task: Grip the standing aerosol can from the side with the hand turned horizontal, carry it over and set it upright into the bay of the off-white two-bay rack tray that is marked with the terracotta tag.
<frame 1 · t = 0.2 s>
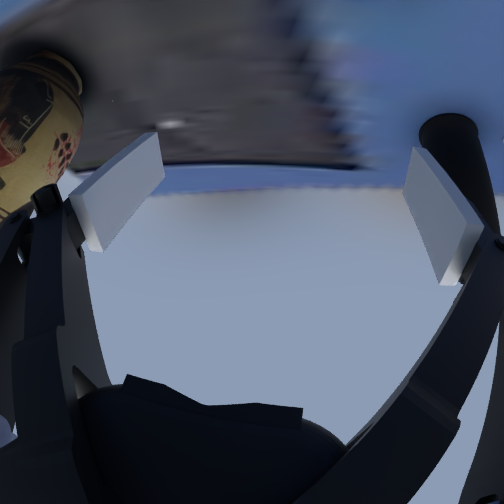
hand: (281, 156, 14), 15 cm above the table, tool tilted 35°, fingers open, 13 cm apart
aerosol can: (448, 133, 28), on the table
ceramic jug: (55, 80, 25), on the table
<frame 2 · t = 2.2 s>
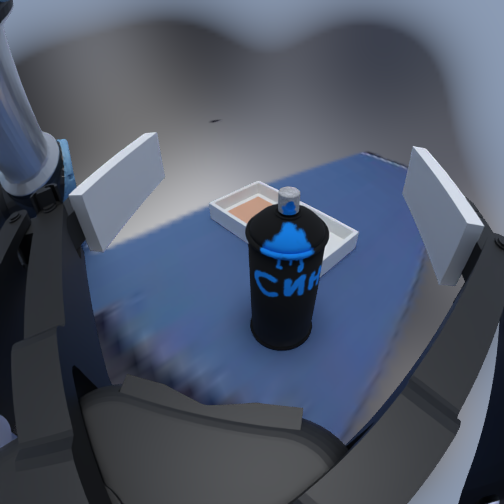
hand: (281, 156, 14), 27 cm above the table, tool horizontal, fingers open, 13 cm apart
rack tray: (279, 231, 55), on the table
aerosol can: (281, 325, 39), on the table
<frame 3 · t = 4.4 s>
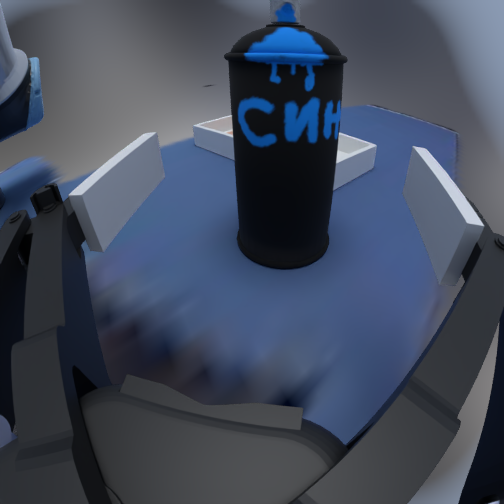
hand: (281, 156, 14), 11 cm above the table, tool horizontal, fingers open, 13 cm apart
rack tray: (278, 152, 42), on the table
aerosol can: (283, 239, 27), on the table
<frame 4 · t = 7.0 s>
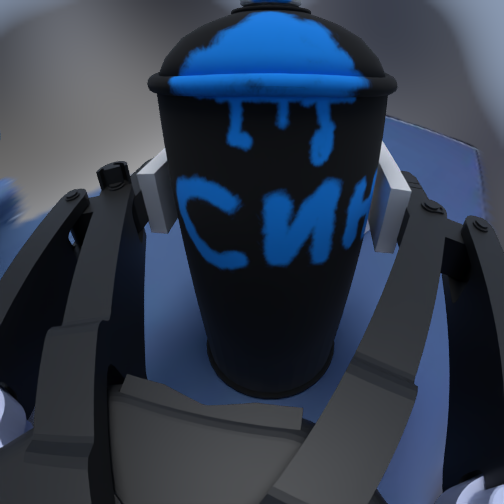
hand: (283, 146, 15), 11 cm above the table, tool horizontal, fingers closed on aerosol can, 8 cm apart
aerosol can: (270, 343, 19), on the table, touching gripper
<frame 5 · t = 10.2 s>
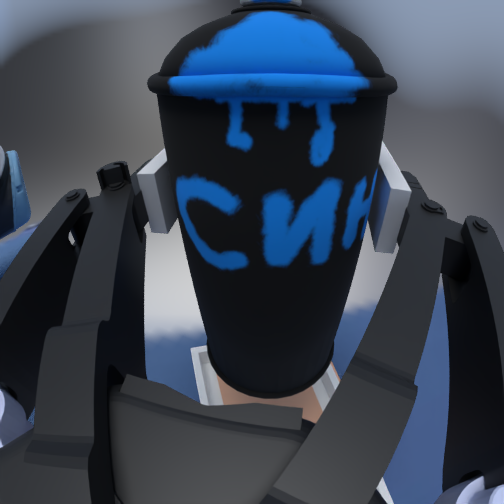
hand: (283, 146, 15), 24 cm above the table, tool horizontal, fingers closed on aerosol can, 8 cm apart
rack tray: (286, 454, 23), on the table
aerosol can: (270, 343, 19), point 13 cm above the table, touching gripper
when the fingers open (13 cm above the table, at t = 13.6 s): aerosol can drops 1 cm, resting on rack tray.
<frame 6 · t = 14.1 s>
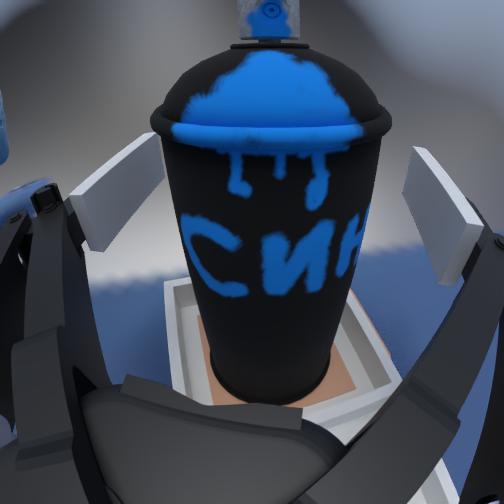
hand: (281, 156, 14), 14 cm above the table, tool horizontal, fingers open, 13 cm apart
rack tray: (296, 436, 16), on the table
aerosol can: (270, 353, 20), point 1 cm above the table, touching rack tray
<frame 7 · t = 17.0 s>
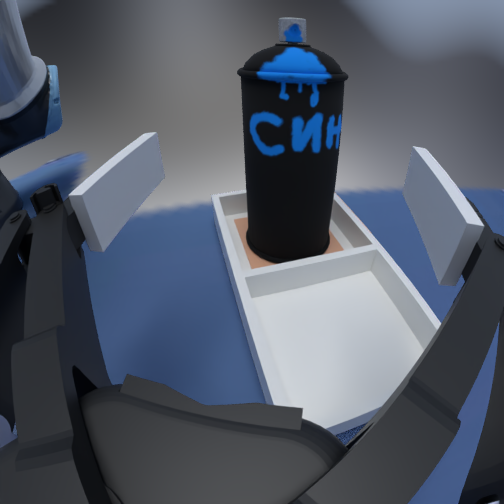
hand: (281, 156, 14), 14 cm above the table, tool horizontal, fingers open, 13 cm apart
rack tray: (310, 289, 25), on the table
aerosol can: (288, 238, 29), point 1 cm above the table, touching rack tray
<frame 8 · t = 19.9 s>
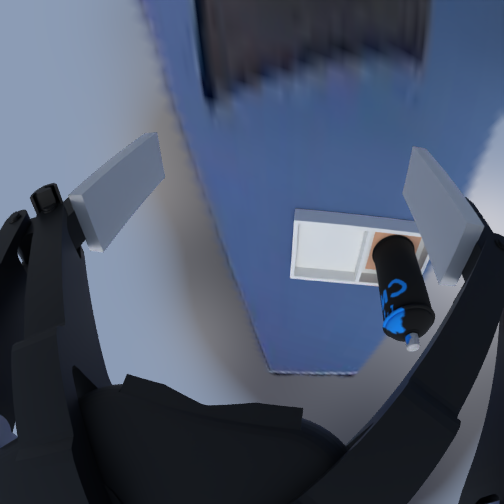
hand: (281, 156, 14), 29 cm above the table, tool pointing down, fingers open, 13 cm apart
rack tray: (361, 245, 51), on the table
aerosol can: (393, 251, 50), point 1 cm above the table, touching rack tray
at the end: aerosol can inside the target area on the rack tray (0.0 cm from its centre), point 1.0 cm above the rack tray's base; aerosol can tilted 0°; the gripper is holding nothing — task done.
